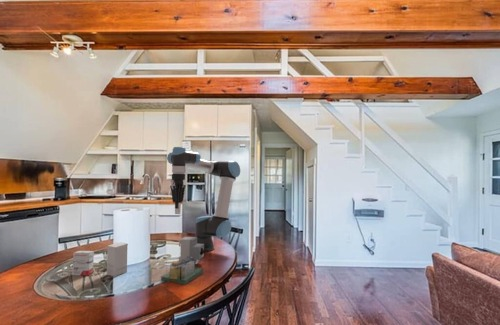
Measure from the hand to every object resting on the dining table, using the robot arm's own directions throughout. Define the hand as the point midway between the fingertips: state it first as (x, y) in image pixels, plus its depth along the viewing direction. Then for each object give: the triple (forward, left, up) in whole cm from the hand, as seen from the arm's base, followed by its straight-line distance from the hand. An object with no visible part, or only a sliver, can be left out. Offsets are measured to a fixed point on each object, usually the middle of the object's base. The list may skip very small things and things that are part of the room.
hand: (177, 213), depth 166 cm
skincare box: (+21, -23, -31) cm, 44 cm away
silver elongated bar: (+12, +12, -23) cm, 29 cm away
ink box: (+28, -39, -31) cm, 57 cm away
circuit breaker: (-8, +6, -31) cm, 32 cm away
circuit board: (+12, +12, -30) cm, 35 cm away
